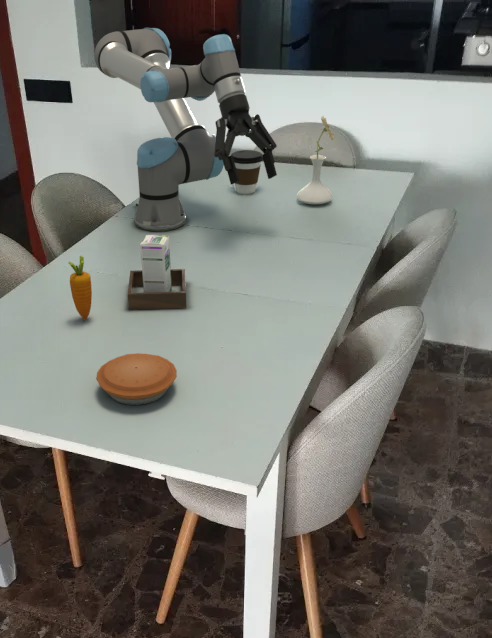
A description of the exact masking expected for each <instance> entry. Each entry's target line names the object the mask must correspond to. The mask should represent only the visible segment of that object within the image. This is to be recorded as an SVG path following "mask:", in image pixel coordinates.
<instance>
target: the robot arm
mask: <svg viewBox="0 0 492 638" xmlns="http://www.w3.org/2000/svg"><path fill="white" fill-rule="evenodd" d="M170 46H171V43H170V41H169V39H168V36H167V35H166V33H164V31H163V30H161V29H160V28H157V27H144V28H141V29H140V28H139V29H130V30H120V31H118V30H117V31H112V32H109V33H107V34H105V35H104V36H103V37H101V38H100V40H99V41H98V43H97V44H96V46H95V49H94V54H93V55H94V62H95V65H96V67H97V68H98V70H99V72H101V73H102V74H104V75H105V76H107V77H109V78H111V79H120V80H122V81H124V82H126V83H128V84H130V85H132V86H134V87H135V88H137V89H139V90H140V91H141V95H142V97H143V98H144V100H145V101H146V102H148V103H153V104H154V106H155V107H156V110H157V112H158V114H159V116H160V117H161V119H162V122H163V124H164V125H165V128H166V129H167V131H168V134H169V135H170V137H169V136H168V137H167V136H164V137H156V138H152V139H149V140H147V141H144V142H143V143H142V144H140V145H139V147H138V148H137V153H136V166H137V179H138V191H139V192H138V193H139V199H138V203H137V202H136V203H135V206H136V211H135V216H134V224H135V226H136V227H137V228H139V229H141V230H144V231H148V232H167V231H172V230H176V229H179V228H181V227H183V226H184V225H185V224H186V222H187V220H186V213H185V210H184V206H183V205H182V201H181V198H180V194H179V193H180V192H179V191H180V190H179V185H183V184H188V183H194V182H198V181H199V182H200V181H204V180H205V181H207V180H209V179H212V178H216V177H218V176H219V175H220V174H221V173H222V172H223V170H224V171H226V173H227V175H228V179H229V183H230V185H235V183H236V182H238V181H239V177H238V173H237V170H236V166H235V162H234V159H233V155H232V156H231V151H232V149H233V145H234V142H235V139H236V137H239V136H241V137H244V136H245V137H246V138H248V139H250V140H251V141H252V143H253V144H254V145H255V146H256V147H257V148H258V149H259V150H260V151H261V153H262V157H263V160H262V162H263V165H264V168H265V173H266V176H267V179H268V180H270V179H273V178H274V177H276V176H278V173H277V170H276V166H275V158H274V154H273V151H274V150H275V149H277V147H278V146H277V144H276V142H275V141H274V139H273V137H272V135H271V134H270V133H269V131H268V130H267V128H266V127H265V125H264V123H263V121H262V119H261V116H260V114H258V113H257V114H255V115H254V116H251V114H250V113H249V112H250V108H251V107H250V102H249V100H248V96H247V95H246V89H245V84H244V81H243V78H242V74H241V70H240V65H239V62H238V59H237V55H236V49H235V47H234V44H233V42H232V38H231V36H230V35H228V34H225V33H223V34H216V35H214V36H211V37H209V38H207V40H205V42H204V43H203V45H202V46H203V47H202V49H203V55H204V58H203V60H202V61H201V62H200V63H199V64H194V65H186V66H179V67H172V68H171V67H170V65H171V61H172V49H171V48H170ZM214 93H215V96H216V100H217V103H218V104H219V105H218V107H219V112H220V114H221V117H220V118H218V119H217V120H215V129H216V133H215V134H212V135H210V134H209V132H208V130H207V129H206V127H205V126H204V125H202V124H198V123H197V120H196V118H195V116H194V114H193V113H192V111H191V110H190V109H191V108H190V107H189V105H188V103H187V101H186V100H185V99H187V98H191V99H192V100H196V101H197V102H202V101H205V100H206V99H208V98H209V97H210V96H212V95H213V94H214Z"/></svg>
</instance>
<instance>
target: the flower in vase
mask: <svg viewBox="0 0 492 638" xmlns="http://www.w3.org/2000/svg"><path fill="white" fill-rule="evenodd" d="M320 120H321V123H322V125H323V130H322V131H321V133H320V135H319V137H318V140H316V150H315V151H314V152H315V153H316V154H313V155H310V156H309V159H310V161H311V164H312V178H311V180H310V182H309V183H307V185H305V186H304V187H303V188H301V189H300V190H299V191H298V192H297V194H296V198H297V201H299V202H301V203H303V204H307V205H324V204H327V203H329V202H330V201H332V200H333V198H334V195H333V193H332V192H331V190H330V189H329V188H328V187H327V186H325V185H324V183H322V181H321V171H322V166H323V163H324V162H325V160H326V159H327V156H326V155H322V154H319V152H320V151H322V150H324V148H323V147H322V146H320V144H319V143H320V140H321V138H322V136H323V134H324V132H326V134H327V136H328V137H329V139H330V140H331V141H334V140H335V137H334V133H333V131H332V130H331V129H330V128H331V126H330V124H328V122H327V118H326V117H325V116H324V115H322V116H321V117H320Z"/></svg>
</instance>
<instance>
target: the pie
mask: <svg viewBox="0 0 492 638" xmlns="http://www.w3.org/2000/svg"><path fill="white" fill-rule="evenodd" d="M177 373H178V372H177V369H176V367H175V364H174V363H173V362H171V360H169V359H167V358H165V357H162V356H160V355H157V354H156V355H155V354H149V353H128V354H124V355H123V354H122V355H121V356H117V357H115V358H112V359H110V360H108V361H107V362H106V363H104V364H102V365H101V366H100V368H99V369H98V371H96V376H95V377H96V378H95V379H96V382H97V384H98V385H99V386H100V387H101V388H102V389H103V391H104V392H106V394H108V395H109V396H110V398H112V399H113V400H114V401H115V402H118V403H120V404H123V405H128V406H140V405H147V404H151V403H153V402H156V401H157V400H160V398H162V397H163V396H164V395H165V394H166V392H167V391H168V389H169V388H170V387H171V386H172V385H173V383H174V382H175V380H176V378H177V377H178V376H177V375H178V374H177Z"/></svg>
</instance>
